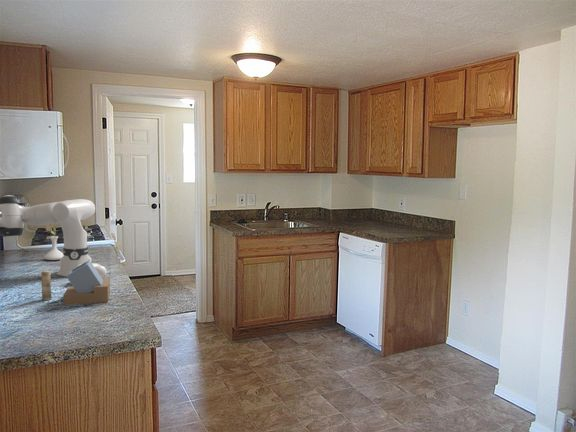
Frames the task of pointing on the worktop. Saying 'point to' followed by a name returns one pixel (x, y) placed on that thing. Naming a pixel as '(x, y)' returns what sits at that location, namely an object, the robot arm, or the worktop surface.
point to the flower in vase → (53, 246)
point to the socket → (86, 286)
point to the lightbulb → (101, 271)
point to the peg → (46, 285)
